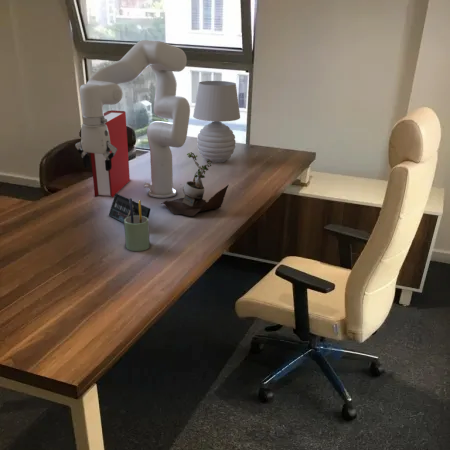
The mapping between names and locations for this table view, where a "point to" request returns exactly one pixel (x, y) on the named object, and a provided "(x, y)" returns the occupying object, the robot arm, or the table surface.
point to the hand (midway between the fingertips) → (97, 168)
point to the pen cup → (136, 230)
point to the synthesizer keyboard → (126, 208)
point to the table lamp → (216, 119)
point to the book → (119, 172)
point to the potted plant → (195, 195)
